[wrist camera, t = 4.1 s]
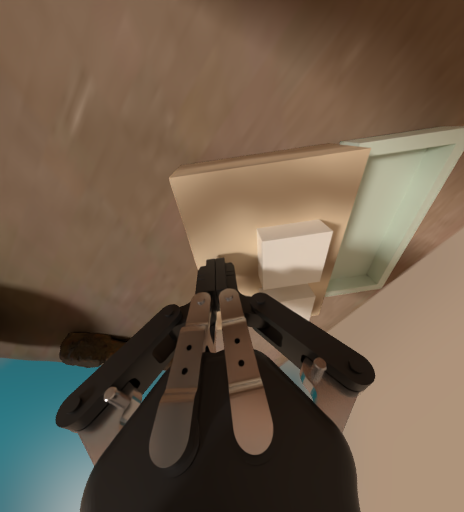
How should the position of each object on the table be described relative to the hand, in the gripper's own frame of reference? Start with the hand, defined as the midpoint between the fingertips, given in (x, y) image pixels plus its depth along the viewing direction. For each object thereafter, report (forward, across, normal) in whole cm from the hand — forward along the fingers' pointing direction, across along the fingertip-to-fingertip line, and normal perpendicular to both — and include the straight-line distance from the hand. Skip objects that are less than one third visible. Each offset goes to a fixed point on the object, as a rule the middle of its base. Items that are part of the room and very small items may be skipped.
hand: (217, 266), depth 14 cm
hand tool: (+6, +19, +20) cm, 28 cm away
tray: (+6, -17, +2) cm, 18 cm away
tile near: (+1, -6, 0) cm, 6 cm away
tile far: (+1, -6, +7) cm, 9 cm away
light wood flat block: (+6, -5, +2) cm, 8 cm away
